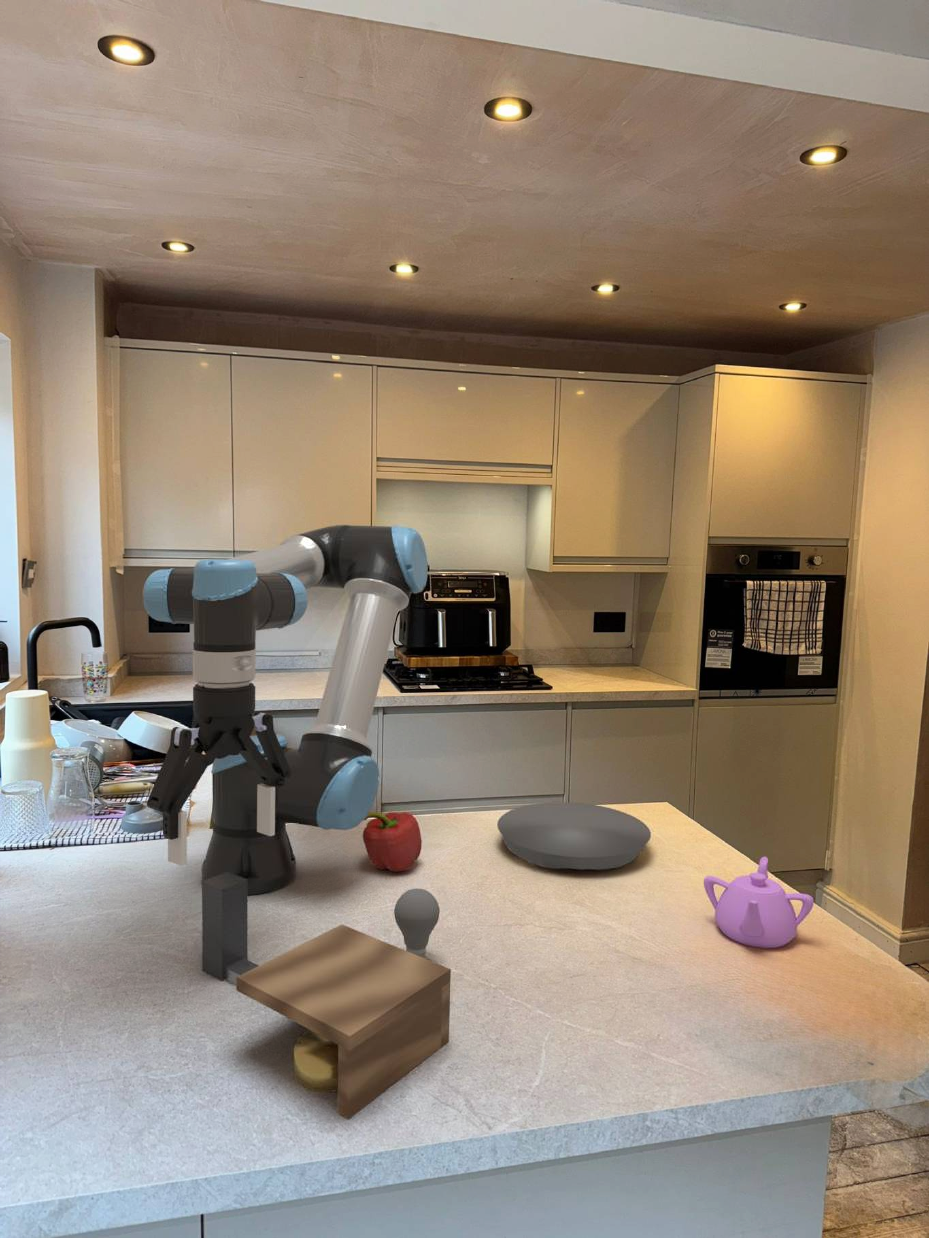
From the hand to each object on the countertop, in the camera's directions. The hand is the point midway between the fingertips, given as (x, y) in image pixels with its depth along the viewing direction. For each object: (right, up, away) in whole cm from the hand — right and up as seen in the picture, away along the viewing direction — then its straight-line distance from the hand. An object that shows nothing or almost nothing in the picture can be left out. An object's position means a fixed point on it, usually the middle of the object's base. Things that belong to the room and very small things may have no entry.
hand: (223, 847), depth 105 cm
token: (+16, -19, -18) cm, 31 cm away
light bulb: (+24, -17, +5) cm, 30 cm away
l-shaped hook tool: (+7, -17, -3) cm, 19 cm away
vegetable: (+18, -14, +37) cm, 43 cm away
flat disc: (+51, -14, +47) cm, 71 cm away
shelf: (+17, -18, -14) cm, 29 cm away
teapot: (+73, -17, +16) cm, 77 cm away
